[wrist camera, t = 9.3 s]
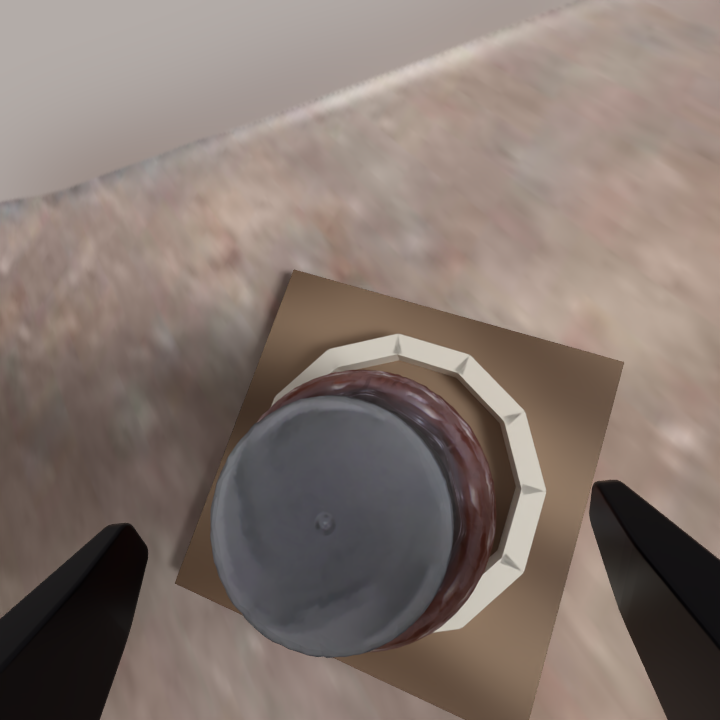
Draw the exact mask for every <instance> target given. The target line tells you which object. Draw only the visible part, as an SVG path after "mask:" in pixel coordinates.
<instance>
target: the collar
mask: <svg viewBox="0 0 720 720" xmlns="http://www.w3.org/2000/svg"><path fill="white" fill-rule="evenodd" d="M398 360H400V361H404V362H407V363H410V364H413V365H417V366H420V367H423V368H426V369H430V370H433V371H436V372H439V373H442V374H446V375H449V376H452V377H455V378H457V379H458V380H459V381H460V382H461V383H462V384H463V385H464V386H465V387H466V388H467V389H468V390H469V392H470V393H471V394H472V395H473V396H474V397H475V398H476V399H477V400H478V401H479V402H480V403H481V404H482V405H483V406H484V407H485V408H486V409H487V410H488V412H489V413H490V414H491V415H492V416H493V417H494V418H495V419H496V420H497V421H498V422H499V423H500V426H501V430H502V434H503V438H504V442H505V446H506V450H507V454H508V458H509V462H510V465H511V469H512V473H513V477H514V481H515V485H516V488H515V491H514V495H513V498H512V502H511V505H510V509H509V512H508V516H507V519H506V523H505V526H504V530H503V533H502V537H501V540H500V543H499V547H498V550H497V551H496V552H495V553H494V554H493V555H492V556H490V557H489V559H488V562H487V565H486V568H485V571H484V573H483V575H482V577H481V578H480V580H479V582H478V584H477V586H476V588H475V589H474V591H473V593H472V594H471V595H470V597H469V599H468V600H467V601H466V603H465V604H464V605H463V606H462V607H461V608H460V609H459V611H458V612H457V613H456V614H455V615H454V616H453V617H452V618H451V619H449V620H448V621H447V622H446V623H445V624H444V625H443V626H442V627H440V628H439V629H437V630H436V631H434V632H441V631H448V630H455V629H461V628H463V627H464V626H465V625H466V624H467V623H468V622H469V621H470V620H472V619H473V618H474V617H475V616H476V615H477V614H478V613H479V612H480V611H482V610H483V609H484V608H485V607H486V606H487V605H488V604H489V603H491V602H492V601H493V600H494V599H495V598H496V597H497V596H498V595H499V594H501V593H502V592H503V591H504V590H505V589H506V588H507V587H508V586H509V585H511V584H512V583H513V582H514V581H515V580H516V579H517V578H518V577H520V576H521V575H522V574H523V572H524V570H525V567H526V563H527V559H528V556H529V552H530V549H531V545H532V542H533V538H534V534H535V531H536V527H537V524H538V520H539V516H540V513H541V509H542V506H543V502H544V499H545V495H546V492H545V491H546V488H545V484H544V480H543V476H542V473H541V469H540V465H539V461H538V458H537V454H536V450H535V447H534V443H533V439H532V435H531V432H530V428H529V424H528V420H527V417H526V413H525V412H524V410H523V409H522V408H521V407H520V406H519V405H518V404H517V402H516V401H515V400H514V399H513V398H512V397H511V396H510V395H509V394H508V393H507V392H506V391H505V390H504V389H503V388H502V387H501V386H500V385H499V384H498V383H497V382H496V381H495V380H494V379H493V378H492V377H491V376H490V375H489V374H488V373H487V372H486V371H485V370H484V369H483V368H482V367H481V366H480V365H479V364H478V363H477V362H476V361H475V360H474V358H473V357H472V356H471V355H470V356H469V354H466V353H462V352H459V351H456V350H452V349H449V348H446V347H442V346H439V345H435V344H432V343H429V342H425V341H422V340H419V339H415V338H412V337H409V336H405V335H402V334H399V335H398V334H394V335H389V336H385V337H381V338H376V339H372V340H367V341H363V342H358V343H354V344H349V345H345V346H340V347H336V348H331V349H329V350H327V351H326V352H325V353H324V354H322V355H321V356H320V357H319V358H318V359H317V360H316V361H315V362H313V363H312V364H311V365H310V366H309V367H308V368H307V369H305V370H304V371H303V372H302V373H301V374H300V375H299V376H298V377H296V378H295V379H294V380H293V381H292V382H291V383H290V384H289V385H287V386H286V387H285V388H284V389H283V390H282V391H281V392H279V393H278V394H277V395H276V396H275V398H274V400H273V403H272V405H273V404H274V403H275V402H277V401H278V400H279V399H280V398H282V397H283V396H284V395H285V394H287V393H289V392H290V391H291V390H293V389H294V388H296V387H298V386H300V385H302V384H304V383H306V382H308V381H310V380H312V379H315V378H318V377H321V376H324V375H327V374H330V373H334V372H342V371H346V370H357V369H361V368H366V367H370V366H375V365H380V364H384V363H389V362H394V361H398ZM271 407H272V406H271ZM434 632H433V633H434Z"/></svg>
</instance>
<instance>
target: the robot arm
mask: <svg viewBox="0 0 720 720" xmlns="http://www.w3.org/2000/svg"><path fill="white" fill-rule="evenodd" d="M589 516H590V521H591V525H592V528H593V531H594V535H595V538H596V541H597V544H598V547H599V550H600V553H601V556H602V559H603V562H604V565H605V569H606V572H607V575H608V578H609V581H610V584H611V587H612V590H613V593H614V596H615V599H616V602H617V605H618V608H619V611H620V613H621V615H622V618H623V620H624V623H625V625H626V627H627V630H628V632H629V634H630V636H631V638H632V641H633V643H634V645H635V647H636V650H637V652H638V654H639V656H640V659H641V661H642V663H643V665H644V668H645V670H646V672H647V674H648V677H649V679H650V681H651V683H652V686H653V688H654V690H655V692H656V694H657V697H658V699H659V701H660V703H661V706H662V708H663V710H664V712H665V715H666V717H667V719H668V720H720V559H718V558H717V557H716V556H714V555H713V554H712V553H711V552H709V551H708V550H707V549H706V548H704V547H703V546H702V545H701V544H699V543H698V542H697V541H696V540H694V539H693V538H692V537H691V536H689V535H688V534H687V533H686V532H684V531H683V530H682V529H681V528H679V527H678V526H677V525H675V524H674V523H673V522H672V521H670V520H669V519H668V518H667V517H665V516H664V515H663V514H662V513H660V512H659V511H658V510H657V509H655V508H654V507H653V506H652V505H650V504H649V503H648V502H647V501H645V500H644V499H643V498H641V497H640V496H639V495H638V494H636V493H635V492H634V491H633V490H631V489H630V488H629V487H628V486H626V485H625V484H624V483H622V482H621V481H618V480H606V481H597V482H595V483H594V484H593V487H592V494H591V502H590V510H589ZM147 560H148V549H147V546H146V544H145V543H144V541H143V540H142V538H141V537H140V536H139V534H138V533H137V531H136V530H135V528H134V527H133V526H132V525H131V524H129V523H119V524H111V525H108V526H107V527H105V528H104V529H103V530H102V531H101V532H99V533H98V534H97V535H96V536H95V537H94V538H93V539H91V540H90V541H89V542H88V543H87V544H86V545H85V546H83V547H82V548H81V549H80V550H79V551H78V552H76V553H75V554H74V555H73V556H72V557H71V558H70V559H68V560H67V561H66V562H65V563H64V564H63V565H62V566H60V567H59V568H58V569H57V570H56V571H55V572H54V573H52V574H51V575H50V576H49V577H48V578H47V579H45V580H44V581H43V582H42V583H41V584H40V585H39V586H37V587H36V588H35V589H34V590H33V591H32V592H31V593H29V594H28V595H27V596H26V597H25V598H24V599H23V600H21V601H20V602H19V603H18V604H17V605H16V606H14V607H13V608H12V609H11V610H10V611H9V612H8V613H6V614H5V615H4V616H3V617H2V618H1V619H0V720H100V717H101V714H102V712H103V709H104V706H105V703H106V700H107V697H108V694H109V691H110V689H111V686H112V683H113V680H114V677H115V674H116V671H117V668H118V665H119V663H120V660H121V657H122V654H123V651H124V648H125V645H126V642H127V639H128V636H129V632H130V628H131V625H132V621H133V617H134V613H135V609H136V605H137V601H138V597H139V593H140V589H141V585H142V581H143V576H144V572H145V568H146V564H147Z"/></svg>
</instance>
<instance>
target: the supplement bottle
mask: <svg viewBox="0 0 720 720" xmlns="http://www.w3.org/2000/svg"><path fill="white" fill-rule="evenodd" d="M495 532H496V500H495V490H494V481H493V479H492V474H491V471H490V467H489V463H488V461H487V459H486V456H485V454H484V452H483V450H482V447H481V445H480V443H479V441H478V439H477V437H476V436H475V434H474V432H473V431H472V428H471V427H470V425H469V424H468V423H467V422H466V421H465V420H464V419H463V418H462V417H461V416H460V414H459V413H458V412H457V411H456V409H455V408H454V407H453V406H451V405H450V404H449V403H448V402H447V401H445V400H444V399H443V398H442V397H441V396H440V395H437V394H436V393H435V392H433V391H431V390H430V389H429V388H428V387H427V386H425V385H422V384H420V383H418V382H416V381H414V380H412V379H409V378H407V377H403V376H401V375H398V374H393V373H390V372H383V371H377V370H346V371H342V372H334V373H330V374H327V375H324V376H321V377H318V378H315V379H312V380H310V381H308V382H306V383H304V384H302V385H300V386H298V387H296V388H294V389H293V390H291V391H290V392H289V393H287V394H285V395H284V396H283V397H282V398H280V399H279V400H278V401H277V402H275V403H274V404H273V405H272V407H271V408H270V409H269V410H268V411H266V412H265V413H264V414H263V415H262V416H261V417H260V418H259V420H258V421H257V423H255V424H254V425H253V426H252V427H251V428H250V430H249V431H248V432H247V433H246V434H245V435H244V436H243V437H242V438H241V439H240V440H239V442H238V443H237V445H236V446H235V448H234V449H233V450H232V452H231V453H230V455H229V456H228V458H227V460H226V463H225V465H224V467H223V469H222V471H221V473H220V476H219V478H218V480H217V483H216V488H215V493H214V497H213V501H212V505H211V532H210V540H211V545H212V553H213V559H214V563H215V566H216V568H217V572H218V575H219V578H220V580H221V582H222V584H223V586H224V588H225V590H226V593H227V595H228V597H229V598H230V600H231V602H232V603H233V605H234V606H235V607H236V608H237V609H238V610H239V611H240V612H241V613H242V614H243V616H244V617H245V619H246V620H247V621H248V622H249V623H250V624H251V625H252V626H253V627H254V628H255V629H257V630H258V631H259V632H260V633H261V634H262V635H264V636H265V637H266V638H268V639H270V640H271V641H273V642H274V643H277V644H280V645H282V646H284V647H286V648H288V649H290V650H294V651H297V652H300V653H303V654H306V655H309V656H315V657H322V656H324V657H326V658H332V657H348V656H352V655H360V654H363V653H367V652H379V651H386V650H391V649H396V648H400V647H402V646H405V645H409V644H411V643H413V642H415V641H418V640H420V639H422V638H423V637H425V636H428V635H430V634H432V633H433V632H434V631H436V630H437V629H439V628H440V627H442V626H443V625H444V624H445V623H446V622H447V621H448V620H449V619H451V618H452V617H453V616H454V615H455V614H456V613H457V612H458V611H459V609H460V608H461V607H462V606H463V605H464V604H465V603H466V601H467V600H468V599H469V597H470V595H471V594H472V593H473V591H474V589H475V588H476V586H477V584H478V582H479V580H480V578H481V577H482V575H483V573H484V571H485V568H486V565H487V562H488V559H489V556H490V553H491V550H492V546H493V542H494V537H495Z"/></svg>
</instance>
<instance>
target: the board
mask: <svg viewBox="0 0 720 720" xmlns="http://www.w3.org/2000/svg"><path fill="white" fill-rule="evenodd" d="M394 334H398V335H399V334H402V335H405V336H409V337H412V338H415V339H419V340H422V341H425V342H429V343H432V344H435V345H439V346H442V347H446V348H449V349H452V350H456V351H459V352H462V353H466V354H469V356H470V355H471V356H472V357H473V358H474V360H475V361H476V362H477V363H478V364H479V365H480V366H481V367H482V368H483V369H484V370H485V371H486V372H487V373H488V374H489V375H490V376H491V377H492V378H493V379H494V380H495V381H496V382H497V383H498V384H499V385H500V386H501V387H502V388H503V389H504V390H505V391H506V392H507V393H508V394H509V395H510V396H511V397H512V398H513V399H514V400H515V401H516V402H517V404H518V405H519V406H520V407H521V408H522V409H523V410H524V412H525V413H526V417H527V420H528V424H529V428H530V432H531V435H532V439H533V443H534V447H535V450H536V454H537V458H538V461H539V465H540V469H541V473H542V476H543V480H544V484H545V488H546V491H545V492H546V495H545V499H544V502H543V506H542V509H541V513H540V516H539V520H538V524H537V527H536V531H535V534H534V538H533V542H532V545H531V549H530V552H529V556H528V559H527V563H526V567H525V570H524V572H523V574H522V575H521V576H520V577H518V578H517V579H516V580H515V581H514V582H513V583H512V584H511V585H509V586H508V587H507V588H506V589H505V590H504V591H503V592H502V593H501V594H499V595H498V596H497V597H496V598H495V599H494V600H493V601H492V602H491V603H489V604H488V605H487V606H486V607H485V608H484V609H483V610H482V611H480V612H479V613H478V614H477V615H476V616H475V617H474V618H473V619H472V620H470V621H469V622H468V623H467V624H466V625H465V626H464V627H463V628H461V629H455V630H448V631H441V632H434V633H432V634H430V635H428V636H425V637H423V638H422V639H420V640H418V641H415V642H413V643H411V644H409V645H405V646H402V647H400V648H396V649H391V650H386V651H379V652H367V653H363V654H360V655H352V656H348V657H333V658H335V659H337V660H339V661H341V662H343V663H346V664H348V665H350V666H352V667H354V668H356V669H358V670H360V671H363V672H365V673H367V674H369V675H371V676H373V677H375V678H377V679H380V680H382V681H384V682H386V683H388V684H390V685H392V686H394V687H397V688H399V689H401V690H403V691H405V692H407V693H409V694H412V695H414V696H416V697H418V698H420V699H422V700H424V701H426V702H429V703H431V704H433V705H435V706H437V707H439V708H441V709H443V710H446V711H448V712H450V713H452V714H454V715H456V716H458V717H460V718H463V719H465V720H529V718H530V714H531V710H532V707H533V703H534V699H535V695H536V692H537V688H538V684H539V680H540V676H541V673H542V669H543V665H544V661H545V658H546V654H547V650H548V646H549V643H550V639H551V635H552V631H553V628H554V624H555V620H556V616H557V613H558V609H559V605H560V601H561V598H562V594H563V590H564V586H565V583H566V579H567V575H568V571H569V568H570V564H571V560H572V556H573V553H574V549H575V545H576V541H577V538H578V534H579V530H580V526H581V523H582V519H583V515H584V511H585V508H586V504H587V500H588V496H589V493H590V489H591V485H592V481H593V478H594V474H595V470H596V466H597V463H598V459H599V455H600V451H601V448H602V444H603V440H604V436H605V432H606V429H607V425H608V421H609V417H610V414H611V410H612V406H613V402H614V399H615V395H616V391H617V387H618V384H619V380H620V376H621V372H622V369H623V365H624V362H622V361H618V360H615V359H611V358H607V357H604V356H600V355H597V354H593V353H590V352H586V351H582V350H579V349H575V348H572V347H568V346H565V345H561V344H558V343H554V342H550V341H547V340H543V339H540V338H536V337H533V336H529V335H525V334H522V333H518V332H515V331H511V330H508V329H504V328H500V327H497V326H493V325H490V324H486V323H483V322H479V321H475V320H472V319H468V318H465V317H461V316H458V315H454V314H451V313H447V312H443V311H440V310H436V309H433V308H429V307H426V306H422V305H418V304H415V303H411V302H408V301H404V300H401V299H397V298H393V297H390V296H386V295H383V294H379V293H376V292H372V291H368V290H365V289H361V288H358V287H354V286H351V285H347V284H344V283H340V282H336V281H333V280H329V279H326V278H322V277H319V276H315V275H311V274H308V273H304V272H301V271H297V270H293V273H292V276H291V278H290V281H289V284H288V286H287V289H286V291H285V294H284V297H283V299H282V302H281V305H280V307H279V310H278V313H277V315H276V318H275V320H274V323H273V326H272V328H271V331H270V334H269V336H268V339H267V342H266V344H265V347H264V349H263V352H262V355H261V357H260V360H259V363H258V365H257V368H256V371H255V373H254V376H253V378H252V381H251V384H250V386H249V389H248V392H247V394H246V397H245V400H244V402H243V405H242V407H241V410H240V413H239V415H238V418H237V421H236V423H235V426H234V429H233V431H232V434H231V436H230V439H229V442H228V444H227V447H226V450H225V452H224V455H223V458H222V460H221V463H220V465H219V468H218V471H217V473H216V476H215V479H214V481H213V484H212V487H211V489H210V492H209V494H208V497H207V500H206V502H205V505H204V508H203V510H202V513H201V515H200V518H199V521H198V523H197V526H196V529H195V531H194V534H193V537H192V539H191V542H190V544H189V547H188V550H187V552H186V555H185V558H184V560H183V563H182V566H181V568H180V571H179V573H178V576H177V579H176V581H175V584H177V585H179V586H182V587H184V588H186V589H188V590H190V591H192V592H194V593H197V594H199V595H201V596H203V597H205V598H207V599H209V600H211V601H214V602H216V603H218V604H220V605H222V606H224V607H226V608H228V609H231V610H233V611H235V612H237V613H239V614H241V615H243V614H242V613H241V612H240V611H239V610H238V609H237V608H236V607H235V606H234V605H233V603H232V602H231V600H230V598H229V597H228V595H227V593H226V590H225V588H224V586H223V584H222V582H221V580H220V578H219V575H218V572H217V568H216V566H215V563H214V559H213V553H212V545H211V540H210V532H211V505H212V501H213V497H214V493H215V488H216V483H217V480H218V478H219V476H220V473H221V471H222V469H223V467H224V465H225V463H226V460H227V458H228V456H229V455H230V453H231V452H232V450H233V449H234V448H235V446H236V445H237V443H238V442H239V440H240V439H241V438H242V437H243V436H244V435H245V434H246V433H247V432H248V431H249V430H250V428H251V427H252V426H253V425H254V424H255V423H257V421H258V420H259V418H260V417H261V416H262V415H263V414H264V413H265V412H266V411H268V410H269V409H270V408H271V406H272V403H273V400H274V398H275V396H276V395H277V394H278V393H279V392H281V391H282V390H283V389H284V388H285V387H286V386H287V385H289V384H290V383H291V382H292V381H293V380H294V379H295V378H296V377H298V376H299V375H300V374H301V373H302V372H303V371H304V370H305V369H307V368H308V367H309V366H310V365H311V364H312V363H313V362H315V361H316V360H317V359H318V358H319V357H320V356H321V355H322V354H324V353H325V352H326V351H327V350H329V349H331V348H336V347H340V346H345V345H349V344H354V343H358V342H363V341H367V340H372V339H376V338H381V337H385V336H389V335H394ZM357 370H377V371H383V372H390V373H393V374H398V375H401V376H403V377H407V378H409V379H412V380H414V381H416V382H418V383H420V384H422V385H425V386H427V387H428V388H429V389H430V390H431V391H433V392H435V393H436V394H437V395H440V396H441V397H442V398H443V399H444V400H445V401H447V402H448V403H449V404H450V405H451V406H453V407H454V408H455V409H456V411H457V412H458V413H459V414H460V416H461V417H462V418H463V419H464V420H465V421H466V422H467V423H468V424H469V425H470V427H471V428H472V431H473V432H474V434H475V436H476V437H477V439H478V441H479V443H480V445H481V447H482V450H483V452H484V454H485V456H486V459H487V461H488V463H489V467H490V471H491V474H492V479H493V481H494V490H495V500H496V532H495V537H494V542H493V546H492V550H491V553H490V556H492V555H493V554H494V553H495V552H496V551H497V550H498V547H499V543H500V540H501V537H502V533H503V530H504V526H505V523H506V519H507V516H508V512H509V509H510V505H511V502H512V498H513V495H514V491H515V488H516V485H515V481H514V477H513V473H512V469H511V465H510V462H509V458H508V454H507V450H506V446H505V442H504V438H503V434H502V430H501V426H500V423H499V422H498V421H497V420H496V419H495V418H494V417H493V416H492V415H491V414H490V413H489V412H488V410H487V409H486V408H485V407H484V406H483V405H482V404H481V403H480V402H479V401H478V400H477V399H476V398H475V397H474V396H473V395H472V394H471V393H470V392H469V390H468V389H467V388H466V387H465V386H464V385H463V384H462V383H461V382H460V381H459V380H458V379H457V378H455V377H452V376H449V375H446V374H442V373H439V372H436V371H433V370H430V369H426V368H423V367H420V366H417V365H413V364H410V363H407V362H404V361H400V360H398V361H394V362H389V363H384V364H380V365H375V366H370V367H366V368H361V369H357ZM490 556H489V557H490Z"/></svg>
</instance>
